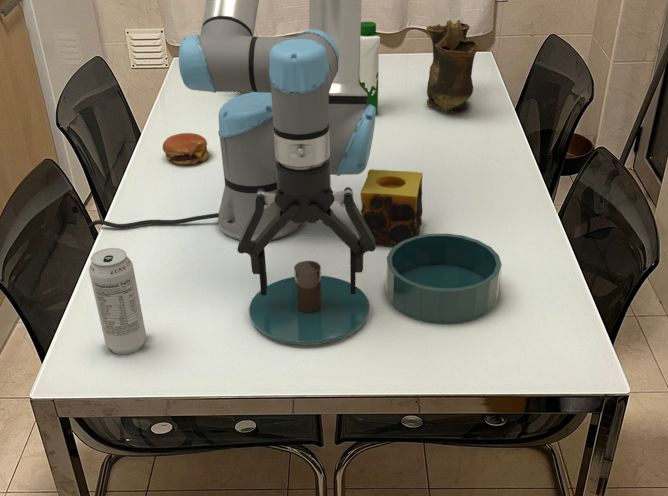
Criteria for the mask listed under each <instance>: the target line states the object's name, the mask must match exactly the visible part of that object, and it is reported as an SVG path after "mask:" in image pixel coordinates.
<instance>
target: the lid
mask: <svg viewBox="0 0 668 496" xmlns="http://www.w3.org/2000/svg"><path fill="white" fill-rule="evenodd" d="M293 268H294V269H293V273H294V276H291V277H287V278H283V279H279V280H277V281H273V282H272V283H270V284H267V292H266V295H261V290H259V291H258V292H257V293H256V294H255V295H254V296H253V297H252V299H251V301H250V304H249V308H248V313H249V315H248V316H249V320H250V322H251V324H252V325H253V326H254V328H255V329H256V330H257V331H259V332H260V333H261V334H263V335H264V336H266V337H268V338H270V339H272V340H275V341H278V342H282V343H287V344H291V345H301V346H306V345H307V346H309V345H311V346H312V345H320V344H327V343H332V342H335V341H338V340H341V339H344V338H346V337H348V336H350V335H352V334H354V333H355V332H356V331H358V330H359V329H360V328H361V327H362V326H363V325H364V324H365V323H366V321H367V319H368V317H369V314H370V303H369V302H370V301H369V298H368V297H367V295H366V294H365V293H364V292H363V290H361V289H360V288H359V287H358V286H356V294H351V282H349V281H347V280H344V279H341V278H338V277H333V276H328V275H322V266H321V264H320V263H319V262H317V261H313V260H302V261H299V262H297V263H296V264H294V267H293Z"/></svg>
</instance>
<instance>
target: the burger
mask: <svg viewBox="0 0 668 496" xmlns="http://www.w3.org/2000/svg"><path fill="white" fill-rule="evenodd" d="M207 146H208V142H207V139H206V138H205V137H204V136H202V135H200V134H198V133H192V132H183V133H182V132H181V133H177V134H173V135H170V136H169V137H167V138H166V139H165V140H164V141H163V143H162V151H163V152H164V154H165V157H166V158H167V160H168V161H171V162H173V163H174V164H177V165H191V164H192V165H196V164H197V163H198V162H205V161H206V160H208V159H209V156H210V155H209V150H208V147H207Z"/></svg>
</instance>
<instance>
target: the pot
mask: <svg viewBox="0 0 668 496" xmlns="http://www.w3.org/2000/svg"><path fill="white" fill-rule="evenodd" d="M502 265H503V264H502V261H501V258H500V255H499V254H498V253H497V251H495V250H494V248H492V247H491V246H490V245H488V244H486V243H484V242H482V241H481V240H478V239H476V238H472V237H470V236H465V235H463V234H462V235H460V234H453V233H427V234H421V235H420V234H419V236H415V237H412V238H409V239H406V240H404V241H401V242H400V243H398V244H397V245H396V246H392V248H391V249H390V250H389V252H388V254H387V256H386V273H385V277H386V279H385V288H386V289H385V290H386V299H387V300H388V302H389V304H390V305H391V306H392V307H393V308H394V309H395V310H396V311H397V312H399V313H400V314H402V315H404V316H406V317H408V318H410V319H413V320H416V321H419V322H423V323H428V324H436V325H456V324H457V325H458V324H463V323H468V322H472V321H475V320H477V319H479V318H481V317H483V316H485V315H487V314H489V312H491V310H493V309H494V307H495V306H496V304H497V301H498V296H499V290H500V283H501V274H502Z"/></svg>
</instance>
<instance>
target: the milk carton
mask: <svg viewBox="0 0 668 496" xmlns="http://www.w3.org/2000/svg"><path fill="white" fill-rule="evenodd" d="M380 46H381V37H380V36H379V34H378V33H377V23H376V22H374V21H361V36H360V72H359V84H360V86H361V87H362V88H363V89H364V90H365V92H366V93H367V94H368V105H370V104H371V105H372V106H374V107H375V108H376V116H378V113H379V110H378V109H379V70H380V69H379V64H380V63H379V60H380V59H379V58H380V55H379V54H380Z"/></svg>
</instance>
